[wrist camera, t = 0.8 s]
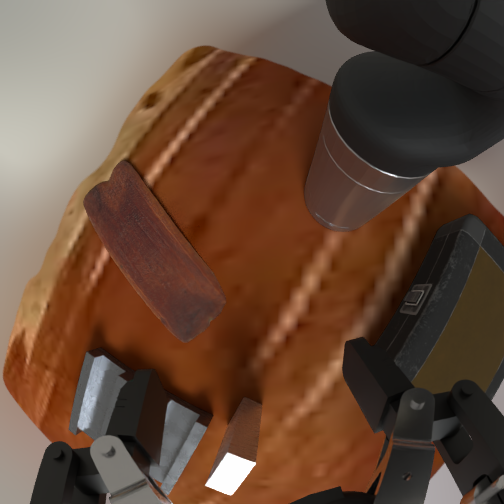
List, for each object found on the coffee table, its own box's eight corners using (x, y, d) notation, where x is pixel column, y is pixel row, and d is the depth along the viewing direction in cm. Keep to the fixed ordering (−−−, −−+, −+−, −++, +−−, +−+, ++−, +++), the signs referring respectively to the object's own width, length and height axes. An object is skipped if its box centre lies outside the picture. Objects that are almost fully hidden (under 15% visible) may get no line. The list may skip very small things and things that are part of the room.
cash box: (436, 218, 31) (467, 203, 24) (508, 294, 29) (539, 292, 21) (342, 378, 30) (360, 401, 22) (433, 431, 27) (458, 451, 19)
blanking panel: (244, 396, 30) (227, 452, 17) (262, 404, 30) (255, 463, 17) (227, 425, 30) (205, 485, 17) (245, 432, 29) (231, 495, 17)
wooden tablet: (83, 203, 36) (77, 200, 34) (128, 158, 36) (123, 153, 35) (179, 351, 32) (174, 353, 30) (239, 302, 32) (237, 303, 31)
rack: (100, 347, 32) (86, 351, 29) (213, 415, 30) (207, 427, 27) (80, 422, 31) (68, 429, 27) (175, 482, 29) (168, 495, 25)
